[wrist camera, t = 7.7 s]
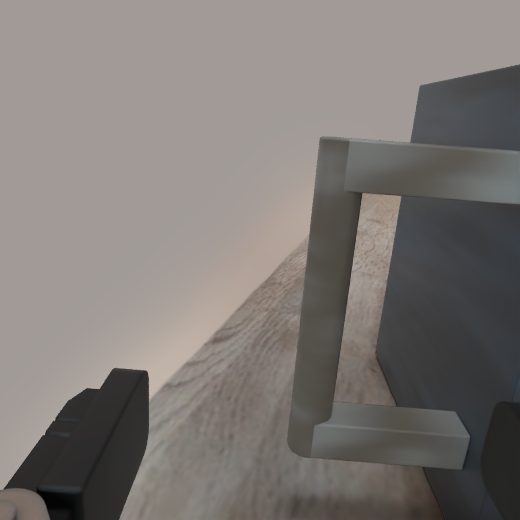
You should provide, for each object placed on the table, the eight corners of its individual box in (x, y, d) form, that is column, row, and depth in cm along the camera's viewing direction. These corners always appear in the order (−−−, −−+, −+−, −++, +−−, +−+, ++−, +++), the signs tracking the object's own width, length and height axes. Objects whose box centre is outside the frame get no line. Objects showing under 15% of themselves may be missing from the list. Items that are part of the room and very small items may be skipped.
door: (282, 552, 17) (341, 24, 12) (278, 345, 32) (304, 76, 27) (492, 570, 17) (650, 47, 11) (389, 354, 32) (436, 86, 27)
